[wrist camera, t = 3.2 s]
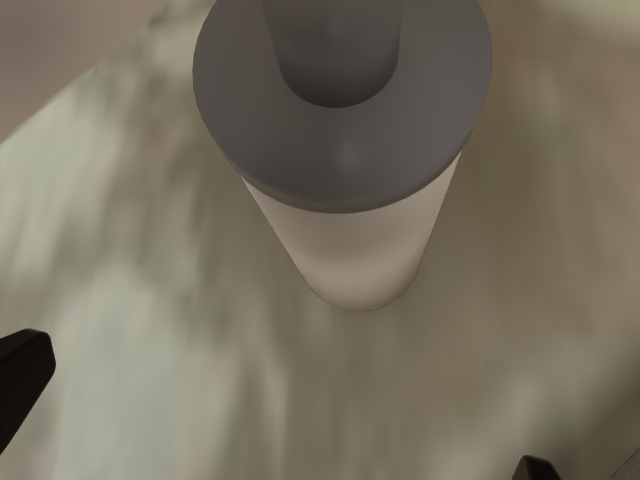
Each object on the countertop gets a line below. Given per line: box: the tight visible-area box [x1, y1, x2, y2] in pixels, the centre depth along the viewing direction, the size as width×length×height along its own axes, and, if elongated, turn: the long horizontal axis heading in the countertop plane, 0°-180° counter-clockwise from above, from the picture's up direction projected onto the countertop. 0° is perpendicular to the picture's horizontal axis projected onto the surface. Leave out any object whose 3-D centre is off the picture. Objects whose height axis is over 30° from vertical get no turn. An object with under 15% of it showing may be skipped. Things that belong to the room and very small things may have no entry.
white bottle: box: [192, 0, 492, 311], centre depth 15 cm, size 6×6×16 cm
